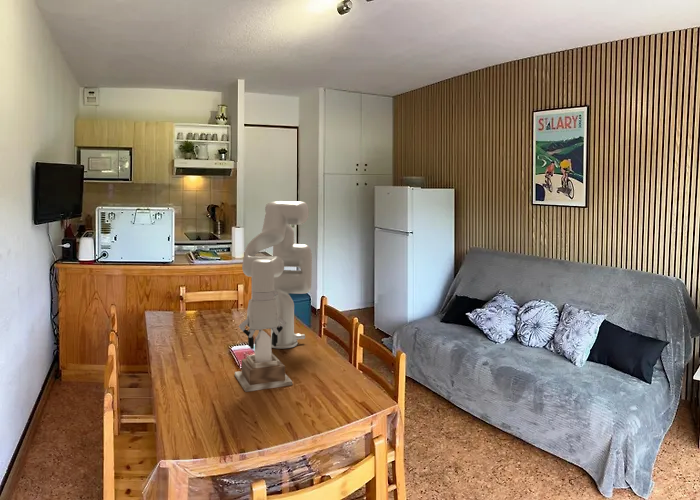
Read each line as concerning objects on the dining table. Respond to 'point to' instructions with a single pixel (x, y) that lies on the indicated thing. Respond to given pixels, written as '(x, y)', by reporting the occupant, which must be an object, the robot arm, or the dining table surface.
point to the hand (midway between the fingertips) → (262, 346)
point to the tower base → (262, 374)
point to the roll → (262, 347)
